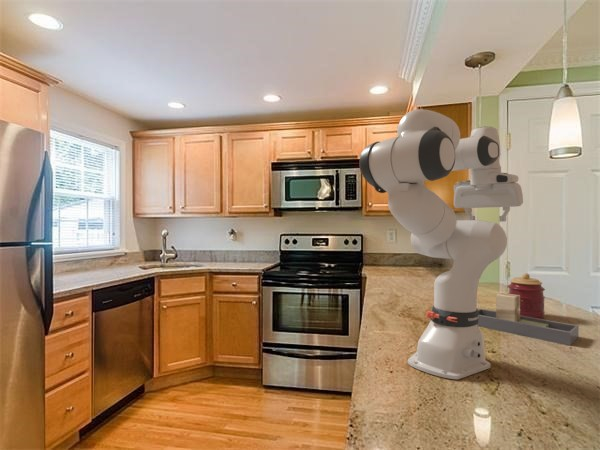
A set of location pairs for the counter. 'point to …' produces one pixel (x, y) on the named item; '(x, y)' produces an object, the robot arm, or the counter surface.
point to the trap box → (530, 327)
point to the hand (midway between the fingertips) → (486, 221)
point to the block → (508, 306)
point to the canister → (528, 295)
